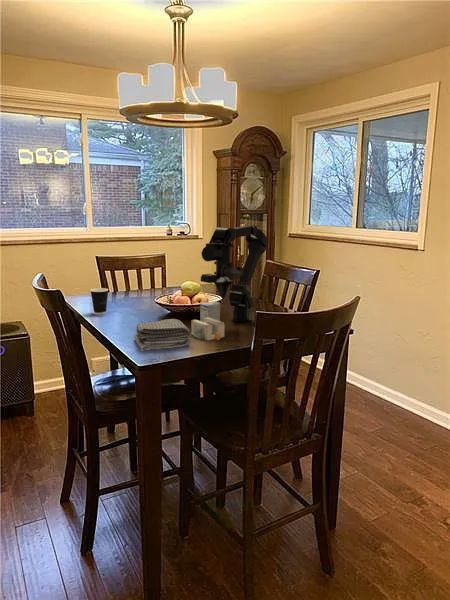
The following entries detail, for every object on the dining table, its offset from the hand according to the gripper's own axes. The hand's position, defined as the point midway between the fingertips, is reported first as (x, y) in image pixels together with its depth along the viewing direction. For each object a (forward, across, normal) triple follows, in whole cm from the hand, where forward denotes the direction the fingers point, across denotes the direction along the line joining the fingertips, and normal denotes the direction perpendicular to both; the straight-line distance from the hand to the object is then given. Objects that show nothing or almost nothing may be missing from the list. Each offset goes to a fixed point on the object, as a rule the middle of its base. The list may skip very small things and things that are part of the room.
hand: (222, 297), depth 184 cm
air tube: (+12, -13, -7) cm, 19 cm away
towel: (+13, -32, -4) cm, 34 cm away
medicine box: (+12, -1, +7) cm, 14 cm away
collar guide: (+12, -13, -7) cm, 19 cm away
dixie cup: (+12, -30, +51) cm, 60 cm away
